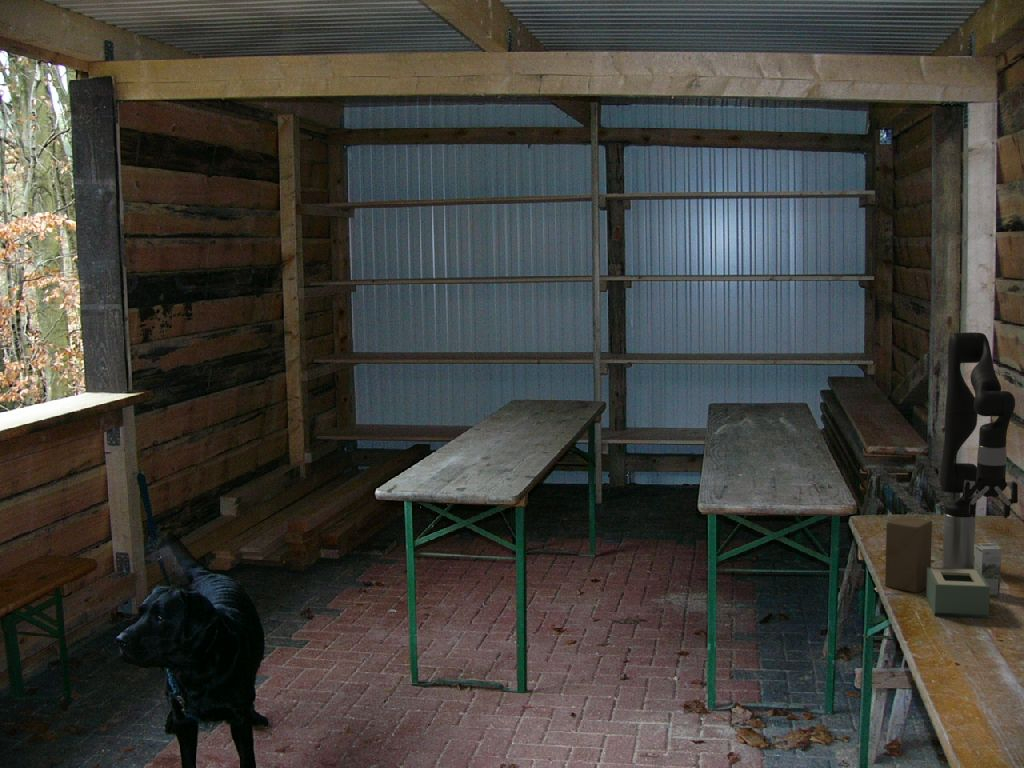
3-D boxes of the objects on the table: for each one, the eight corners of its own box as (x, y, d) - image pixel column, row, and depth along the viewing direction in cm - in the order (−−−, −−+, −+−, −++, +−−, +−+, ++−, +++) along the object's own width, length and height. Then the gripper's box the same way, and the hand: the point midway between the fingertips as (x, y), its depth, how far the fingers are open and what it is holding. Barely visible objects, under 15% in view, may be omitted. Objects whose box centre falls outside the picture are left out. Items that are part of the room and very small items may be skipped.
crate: (926, 597, 328) (927, 567, 326) (977, 599, 325) (978, 569, 323) (934, 616, 312) (935, 584, 311) (988, 618, 309) (989, 586, 308)
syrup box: (990, 589, 333) (992, 542, 331) (1000, 596, 327) (1002, 547, 325) (971, 590, 333) (973, 542, 331) (980, 596, 327) (982, 548, 325)
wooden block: (884, 586, 338) (885, 522, 335) (898, 578, 345) (900, 515, 342) (916, 593, 331) (918, 527, 328) (930, 585, 338) (932, 520, 335)
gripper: (1015, 458, 317) (1013, 513, 320) (962, 457, 320) (960, 512, 323) (1021, 465, 310) (1019, 521, 313) (967, 463, 313) (964, 520, 316)
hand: (989, 516), depth 318 cm, fingers open, 8 cm apart
